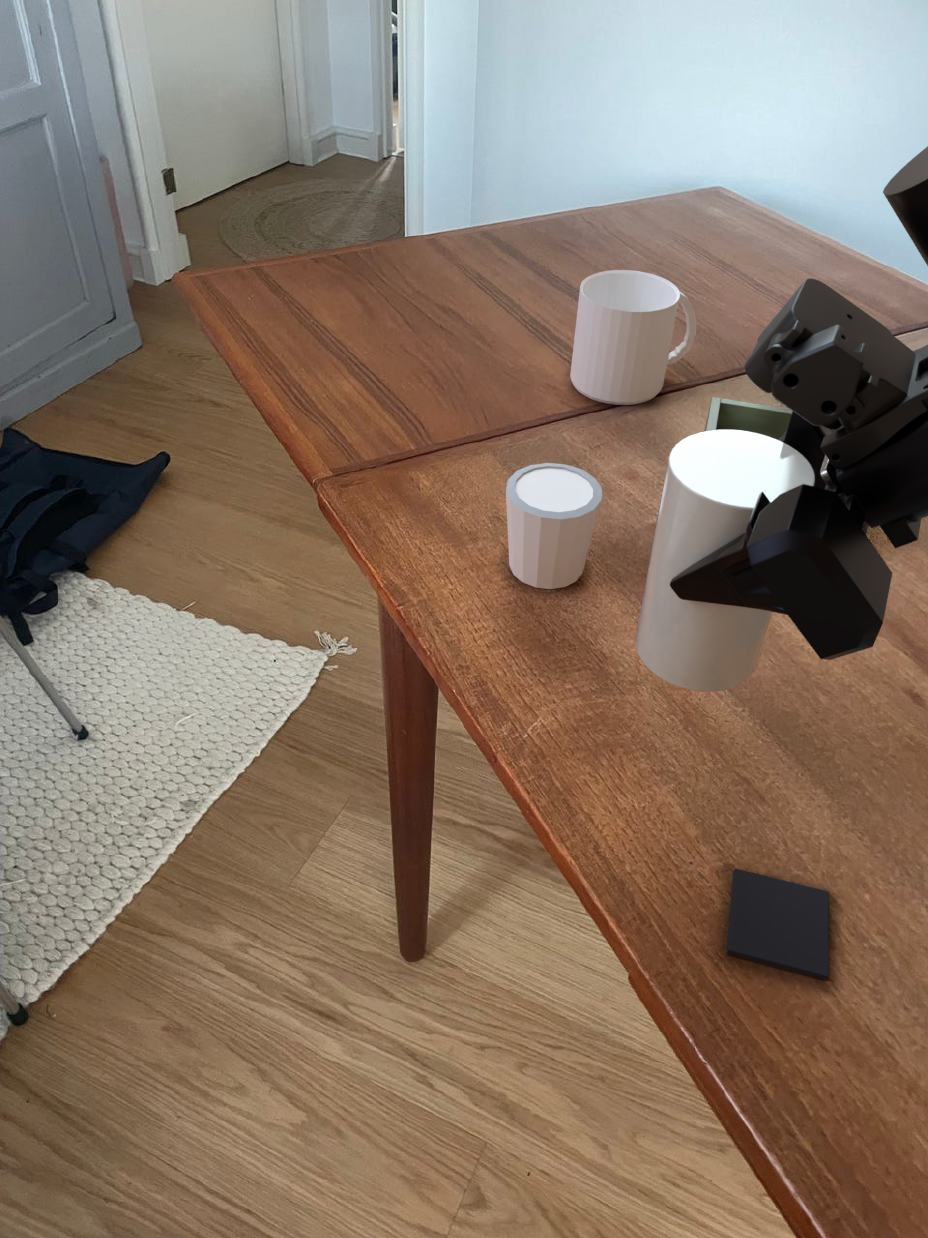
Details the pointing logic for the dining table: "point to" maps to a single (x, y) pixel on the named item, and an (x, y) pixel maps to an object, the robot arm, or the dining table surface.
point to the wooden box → (747, 417)
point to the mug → (627, 335)
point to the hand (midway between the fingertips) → (693, 548)
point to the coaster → (779, 924)
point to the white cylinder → (694, 528)
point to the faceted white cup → (550, 523)
